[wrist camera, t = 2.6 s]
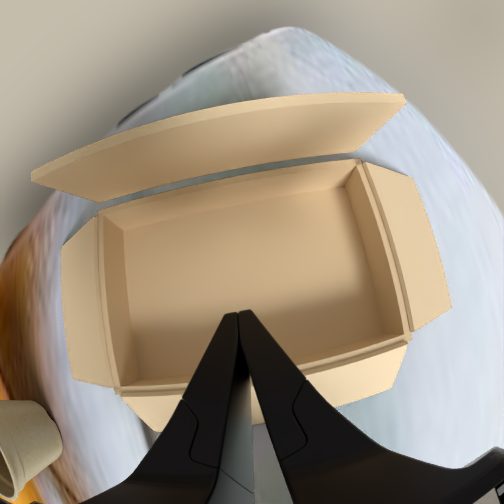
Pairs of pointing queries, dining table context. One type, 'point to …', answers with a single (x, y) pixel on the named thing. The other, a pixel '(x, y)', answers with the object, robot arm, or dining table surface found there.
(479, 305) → the dining table surface
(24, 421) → the flower pot
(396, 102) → the flap
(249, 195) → the carton
